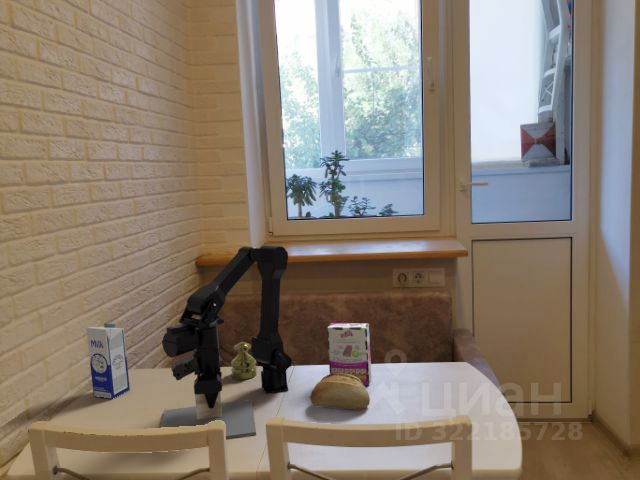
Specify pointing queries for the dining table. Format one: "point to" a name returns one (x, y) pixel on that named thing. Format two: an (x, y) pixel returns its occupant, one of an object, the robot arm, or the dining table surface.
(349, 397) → the bread roll
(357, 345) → the candy bar box
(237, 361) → the olive tall rounded piece
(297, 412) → the dining table surface
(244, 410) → the mat
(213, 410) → the tile
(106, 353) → the milk carton
